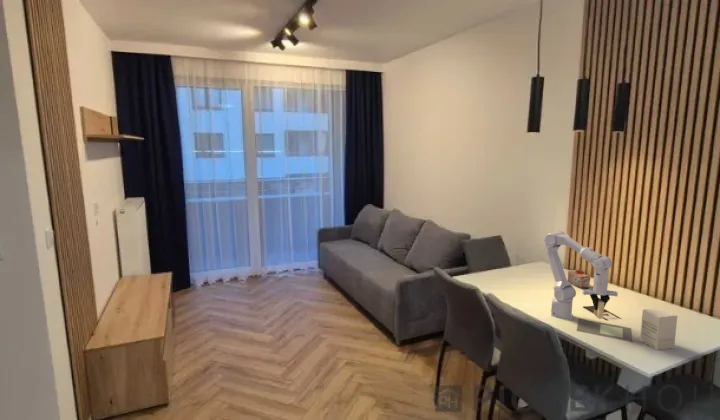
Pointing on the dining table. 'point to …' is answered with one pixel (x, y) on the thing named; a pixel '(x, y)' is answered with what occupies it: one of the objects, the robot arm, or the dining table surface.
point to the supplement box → (658, 328)
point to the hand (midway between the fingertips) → (598, 309)
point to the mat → (605, 330)
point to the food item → (578, 278)
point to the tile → (599, 309)
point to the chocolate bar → (606, 314)
